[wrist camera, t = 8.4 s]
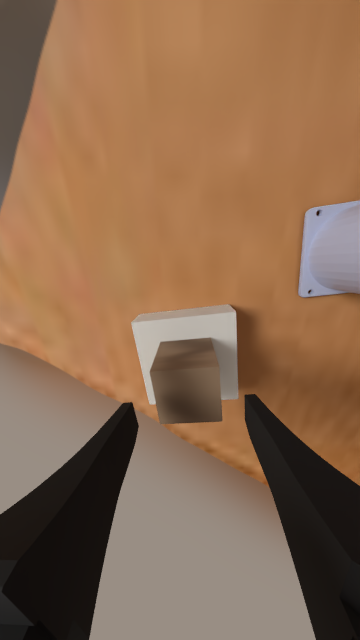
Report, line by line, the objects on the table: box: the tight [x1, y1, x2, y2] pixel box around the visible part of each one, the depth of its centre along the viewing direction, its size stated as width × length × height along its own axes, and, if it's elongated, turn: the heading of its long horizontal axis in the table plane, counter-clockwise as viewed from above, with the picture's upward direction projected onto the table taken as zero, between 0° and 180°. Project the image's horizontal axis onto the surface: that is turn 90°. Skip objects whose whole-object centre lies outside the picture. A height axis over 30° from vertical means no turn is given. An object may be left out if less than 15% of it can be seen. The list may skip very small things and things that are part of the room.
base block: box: [131, 304, 238, 404], centre depth 19 cm, size 10×10×3 cm
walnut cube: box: [150, 337, 222, 424], centre depth 15 cm, size 5×5×5 cm
